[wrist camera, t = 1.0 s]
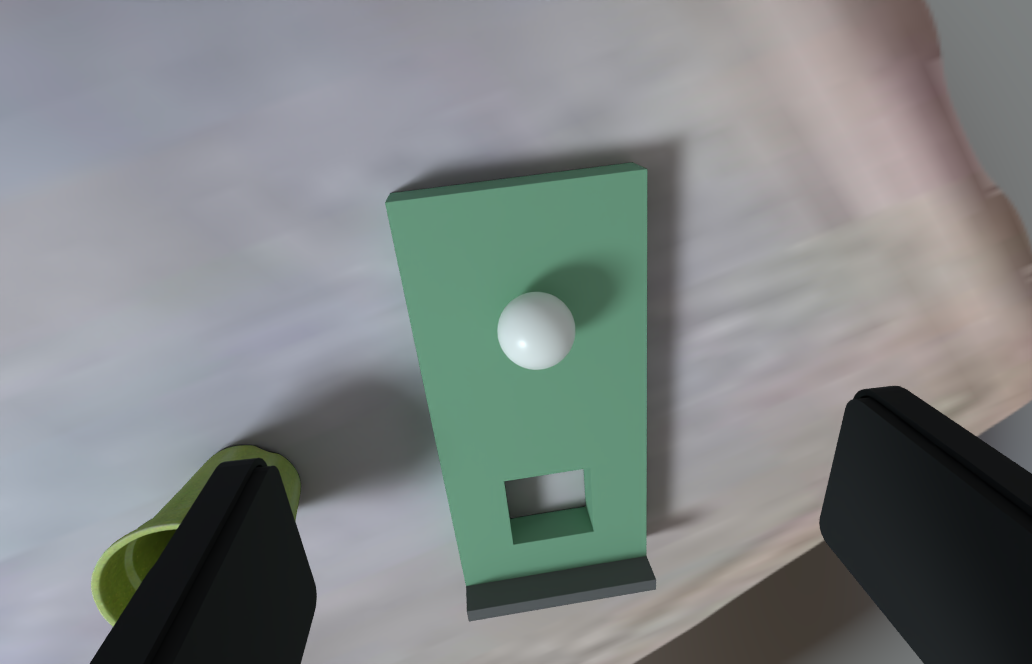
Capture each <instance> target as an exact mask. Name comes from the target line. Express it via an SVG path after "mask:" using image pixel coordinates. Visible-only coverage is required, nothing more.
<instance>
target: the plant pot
mask: <svg viewBox="0 0 1032 664" xmlns="http://www.w3.org/2000/svg"><path fill="white" fill-rule="evenodd" d="M252 458H262V459H263V460H264V461H265V462H266V464H267V466H276V467H277V468H278V470H279V472H280V475H281V478H282V481H283V484H284V488H285V491H286V494H287V497H288V500H289V503H290V506H291V510H292V513H293V516H294V519H295V520H296V514H297V509H298V503H299V498H300V492H301V483H300V478H299V475H298V473H297V471H296V469H295V468H294V467H293V465H292V464H291V463H290V462H289V461H288V460H287V459H286V458H284V457H283V456H281V455H280V454H277V453H271V452H267V451H265V450H262V449H260V448H258V447H256V446H252V445H241V446H234V447H230V448H226V449H224V450H222V451H220V452H218V453H216V454H215V455H213V456H212V457H211V458H210V459H209V460H208V461H207V462H206V463H205V464H204V465H203V466H202V467H201V468H200V469H199V470H198V471H197V472H196V473H195V474H194V476H193V477H192V478H191V479H190V480H189V481H188V482H187V483H186V484H185V485H184V486H183V487H182V489H181V490H180V491H179V492H178V493H177V494H176V495H175V496H174V497H173V498H172V499H171V500H170V501H169V502H168V503H167V504H166V505H165V506H164V507H163V508H162V509H161V510H160V511H159V513H158V514H157V515H156V516H155V517H154V518H153V519H151V520H149V521H147V522H146V523H144V524H143V525H141V526H140V527H139V528H138V529H136V530H134V531H132V532H130V533H128V534H127V535H125V536H123V537H122V538H120V539H119V540H117V541H116V542H115V543H113V544H112V545H111V546H110V547H109V548H108V549H107V550H106V551H105V552H104V553H103V555H102V556H101V557H100V559H99V560H98V562H97V564H96V566H95V568H94V571H93V573H92V580H91V590H92V594H93V598H94V601H95V603H96V605H97V608H98V609H99V611H100V613H101V615H102V616H103V617H104V618H105V619H106V620H107V621H108V622H109V624H110V625H112V626H114V625H115V623H116V622H117V620H118V619H119V617H120V615H121V614H122V612H123V611H124V609H125V608H126V606H127V604H128V603H129V601H130V600H131V598H132V597H133V595H134V593H135V592H136V590H137V589H138V587H139V586H140V584H141V582H142V581H143V579H144V578H145V576H146V575H147V573H148V572H149V571H150V569H151V568H152V567H153V566H154V564H155V563H156V561H157V560H158V558H159V557H160V555H161V554H162V552H163V550H164V549H165V547H166V546H167V544H168V543H169V541H170V539H171V538H172V536H173V535H174V533H175V531H176V530H177V528H178V527H179V525H180V524H181V522H182V520H183V519H184V517H185V516H186V514H187V513H188V511H189V509H190V508H191V506H192V505H193V503H194V501H195V500H196V498H197V497H198V495H199V494H200V492H201V490H202V489H203V487H204V486H205V484H206V483H207V481H208V479H209V478H210V476H211V475H212V473H213V472H214V470H215V468H216V467H217V466H218V465H219V464H220V463H222V462H225V461H234V460H243V459H252Z"/></svg>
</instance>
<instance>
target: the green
mask: <svg viewBox="0 0 1032 664" xmlns="http://www.w3.org/2000/svg"><path fill="white" fill-rule="evenodd" d="M385 205H386V209H387V214H388V219H389V224H390V228H391V233H392V238H393V242H394V247H395V252H396V257H397V261H398V266H399V271H400V276H401V280H402V285H403V290H404V294H405V299H406V304H407V309H408V313H409V318H410V323H411V328H412V332H413V337H414V342H415V346H416V351H417V356H418V361H419V365H420V370H421V375H422V380H423V384H424V389H425V394H426V398H427V403H428V408H429V413H430V417H431V422H432V427H433V432H434V436H435V441H436V446H437V450H438V455H439V460H440V465H441V469H442V474H443V479H444V484H445V488H446V493H447V498H448V502H449V507H450V512H451V517H452V521H453V526H454V531H455V536H456V540H457V545H458V550H459V554H460V559H461V564H462V569H463V573H464V578H465V583H466V596H467V614H468V619H469V621H475V620H480V619H486V618H492V617H498V616H504V615H510V614H515V613H521V612H527V611H533V610H539V609H545V608H550V607H556V606H562V605H568V604H574V603H580V602H585V601H591V600H597V599H603V598H609V597H615V596H620V595H626V594H632V593H638V592H644V591H650V590H655V589H656V578H655V576H654V573H653V571H652V568H651V566H650V564H649V561H648V559H647V556H646V494H647V169H646V168H644V167H642V166H639V165H637V164H635V163H633V162H631V163H624V164H616V165H608V166H600V167H592V168H584V169H577V170H569V171H561V172H553V173H545V174H537V175H530V176H522V177H514V178H506V179H498V180H490V181H483V182H475V183H467V184H459V185H451V186H443V187H435V188H428V189H420V190H412V191H404V192H396V193H390V195H389V196H388V198H387V200H386V202H385ZM529 292H544V293H548V294H551V295H553V296H555V297H557V298H558V299H560V300H561V301H562V302H563V303H564V304H565V305H566V306H567V307H568V309H569V310H570V312H571V314H572V316H573V319H574V322H575V339H574V343H573V346H572V348H571V350H570V351H569V353H568V354H567V355H566V357H565V358H564V359H563V360H562V361H560V362H559V363H558V364H556V365H554V366H552V367H549V368H546V369H541V370H532V369H527V368H523V367H521V366H519V365H517V364H515V363H514V362H513V361H511V360H510V359H509V358H508V357H507V356H506V354H505V353H504V352H503V350H502V348H501V346H500V343H499V340H498V332H497V328H498V322H499V318H500V316H501V313H502V312H503V310H504V308H505V307H506V306H507V305H508V304H509V303H510V302H511V301H512V300H513V299H515V298H516V297H518V296H520V295H522V294H525V293H529ZM579 469H584V483H585V499H586V507H580V508H574V509H567V510H561V511H555V512H549V513H543V514H537V515H530V516H524V517H518V518H512V519H510V517H509V510H508V503H507V496H506V489H505V483H504V481H510V480H516V479H522V478H529V477H535V476H541V475H548V474H554V473H560V472H567V471H573V470H579Z"/></svg>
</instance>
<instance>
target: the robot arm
mask: <svg viewBox="0 0 1032 664" xmlns="http://www.w3.org/2000/svg"><path fill="white" fill-rule="evenodd" d="M819 524H820V530H821V534H822V536H823V538H824V540H825V541H826V543H827V544H828V545H829V547H830V548H831V549H832V550H833V552H834V553H835V554H836V555H837V556H838V558H839V559H840V560H841V562H842V563H843V564H844V565H845V566H846V568H847V569H848V570H849V572H850V573H851V574H852V575H853V576H854V578H855V579H856V580H857V581H858V582H859V584H860V585H861V586H862V587H863V589H864V590H865V591H866V592H867V594H868V595H869V596H870V597H871V599H872V600H873V601H874V602H875V604H876V605H877V606H878V607H879V609H880V610H881V611H882V612H883V613H884V615H885V616H886V617H887V618H888V620H889V621H890V622H891V623H892V625H893V626H894V627H895V628H896V630H897V631H898V632H899V633H900V634H901V636H902V637H903V638H904V639H905V641H906V642H907V643H908V644H909V646H910V647H911V648H912V649H913V651H914V652H915V653H916V654H917V656H918V657H919V658H920V659H921V660H922V662H923V663H924V664H1032V474H1031V473H1030V472H1028V471H1027V470H1025V469H1024V468H1022V467H1021V466H1019V465H1018V464H1016V463H1015V462H1013V461H1012V460H1010V459H1009V458H1007V457H1006V456H1004V455H1003V454H1002V453H1000V452H998V451H997V450H996V449H994V448H993V447H991V446H990V445H988V444H987V443H985V442H984V441H982V440H981V439H979V438H978V437H976V436H975V435H973V434H972V433H970V432H969V431H967V430H966V429H964V428H963V427H961V426H960V425H959V424H957V423H956V422H954V421H953V420H951V419H950V418H948V417H947V416H945V415H944V414H942V413H941V412H939V411H938V410H936V409H935V408H933V407H932V406H930V405H929V404H927V403H926V402H924V401H923V400H921V399H920V398H918V397H917V396H915V395H914V394H912V393H911V392H910V391H908V390H907V389H905V388H902V387H900V386H888V387H879V388H870V389H863V390H860V391H858V392H857V393H856V394H855V396H854V398H853V400H850V401H849V402H848V403H847V405H846V408H845V412H844V416H843V421H842V425H841V429H840V434H839V438H838V442H837V447H836V451H835V455H834V459H833V464H832V468H831V472H830V477H829V481H828V485H827V490H826V494H825V498H824V503H823V507H822V511H821V515H820V522H819ZM316 599H317V593H316V586H315V582H314V579H313V576H312V572H311V569H310V566H309V563H308V560H307V557H306V554H305V550H304V547H303V544H302V541H301V538H300V535H299V532H298V528H297V525H296V522H295V519H294V516H293V513H292V510H291V506H290V503H289V500H288V497H287V494H286V491H285V488H284V484H283V481H282V478H281V475H280V472H279V470H278V468H277V467H276V466H267V464H266V462H265V461H264V460H263V459H262V458H252V459H243V460H234V461H225V462H222V463H220V464H219V465H218V466H217V467H216V468H215V470H214V472H213V473H212V475H211V476H210V478H209V479H208V481H207V483H206V484H205V486H204V487H203V489H202V490H201V492H200V494H199V495H198V497H197V498H196V500H195V501H194V503H193V505H192V506H191V508H190V509H189V511H188V513H187V514H186V516H185V517H184V519H183V520H182V522H181V524H180V525H179V527H178V528H177V530H176V531H175V533H174V535H173V536H172V538H171V539H170V541H169V543H168V544H167V546H166V547H165V549H164V550H163V552H162V554H161V555H160V557H159V558H158V560H157V561H156V563H155V564H154V566H153V567H152V568H151V569H150V571H149V572H148V573H147V575H146V576H145V578H144V579H143V581H142V582H141V584H140V586H139V587H138V589H137V590H136V592H135V593H134V595H133V597H132V598H131V600H130V601H129V603H128V604H127V606H126V608H125V609H124V611H123V612H122V614H121V615H120V617H119V619H118V620H117V622H116V623H115V625H114V626H113V628H112V630H111V631H110V633H109V634H108V636H107V637H106V639H105V641H104V642H103V644H102V645H101V647H100V648H99V650H98V651H97V653H96V655H95V656H94V658H93V659H92V661H91V662H90V664H301V660H302V657H303V653H304V649H305V645H306V642H307V638H308V634H309V631H310V627H311V623H312V620H313V616H314V612H315V608H316Z"/></svg>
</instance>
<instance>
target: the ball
mask: <svg viewBox="0 0 1032 664" xmlns="http://www.w3.org/2000/svg"><path fill="white" fill-rule="evenodd" d="M497 332H498V340H499V343H500V346H501V348H502V350H503V352H504V353H505V354H506V356H507V357H508V358H509V359H510V360H511V361H513V362H514V363H515V364H517V365H519V366H521V367H523V368H527V369H532V370H541V369H546V368H549V367H552V366H554V365H556V364H558V363H559V362H560V361H562V360H563V359H564V358H565V357H566V355H567V354H568V353H569V351H570V350H571V348H572V346H573V343H574V339H575V322H574V319H573V316H572V314H571V312H570V310H569V309H568V307H567V306H566V305H565V304H564V303H563V302H562V301H561V300H560V299H558V298H557V297H555V296H553V295H551V294H548V293H544V292H529V293H525V294H522V295H520V296H518V297H516V298H515V299H513V300H512V301H511V302H510V303H509V304H508V305H507V306H506V307H505V308H504V310H503V312H502V313H501V316H500V318H499V322H498V328H497Z"/></svg>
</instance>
